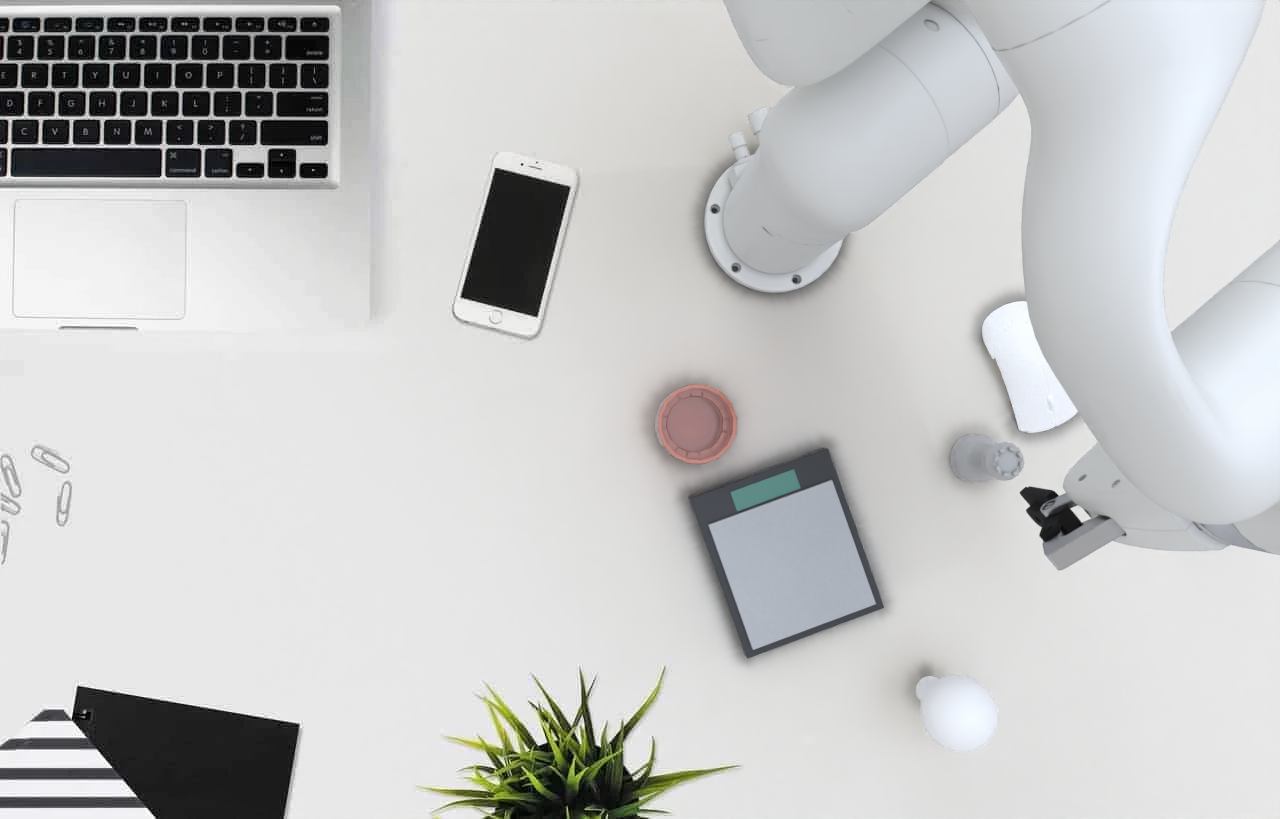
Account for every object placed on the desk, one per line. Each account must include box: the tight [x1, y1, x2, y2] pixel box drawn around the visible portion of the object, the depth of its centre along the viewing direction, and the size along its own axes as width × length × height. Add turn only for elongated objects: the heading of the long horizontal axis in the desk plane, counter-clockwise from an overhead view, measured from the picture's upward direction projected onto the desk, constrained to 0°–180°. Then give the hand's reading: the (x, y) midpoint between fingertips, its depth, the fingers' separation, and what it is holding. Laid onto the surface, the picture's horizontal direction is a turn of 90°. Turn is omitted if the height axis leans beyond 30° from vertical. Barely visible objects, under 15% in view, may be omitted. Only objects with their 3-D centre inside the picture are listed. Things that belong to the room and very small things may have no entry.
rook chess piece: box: [949, 433, 1026, 484], centre depth 87 cm, size 4×4×8 cm
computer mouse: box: [981, 300, 1079, 434], centre depth 90 cm, size 7×12×2 cm, turn 23°
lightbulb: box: [915, 674, 1000, 753], centre depth 85 cm, size 6×6×11 cm
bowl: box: [654, 383, 738, 465], centre depth 87 cm, size 7×7×5 cm
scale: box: [688, 447, 885, 659], centre depth 88 cm, size 15×13×2 cm
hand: (1089, 458), depth 67 cm, fingers open, 9 cm apart
